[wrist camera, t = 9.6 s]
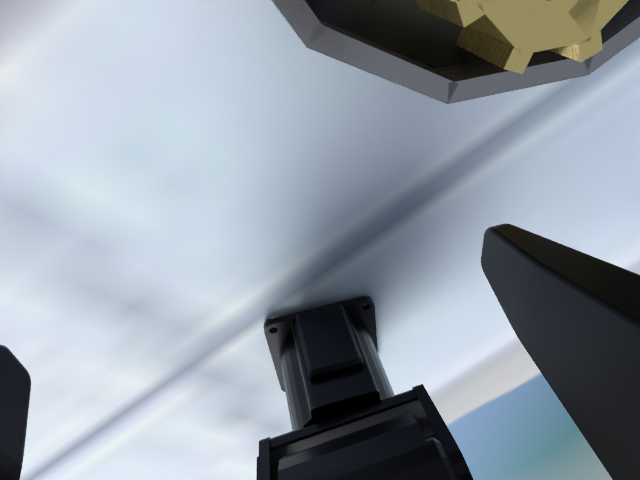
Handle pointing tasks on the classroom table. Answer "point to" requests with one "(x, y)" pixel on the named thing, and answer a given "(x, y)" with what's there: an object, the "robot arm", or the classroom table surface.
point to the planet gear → (526, 27)
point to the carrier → (434, 47)
